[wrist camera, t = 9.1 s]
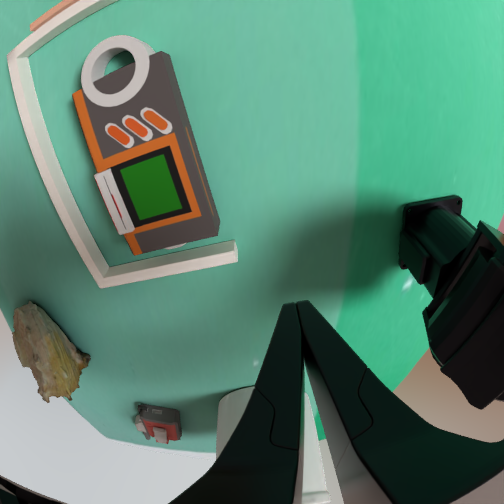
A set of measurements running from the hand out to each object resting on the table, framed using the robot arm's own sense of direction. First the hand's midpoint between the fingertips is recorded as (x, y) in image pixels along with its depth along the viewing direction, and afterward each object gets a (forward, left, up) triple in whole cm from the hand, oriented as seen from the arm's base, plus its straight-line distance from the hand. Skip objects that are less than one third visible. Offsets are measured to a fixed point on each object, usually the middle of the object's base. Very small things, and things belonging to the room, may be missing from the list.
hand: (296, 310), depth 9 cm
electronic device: (+7, -5, -12) cm, 15 cm away
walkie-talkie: (+28, +39, -13) cm, 50 cm away
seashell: (+30, +12, -12) cm, 34 cm away
